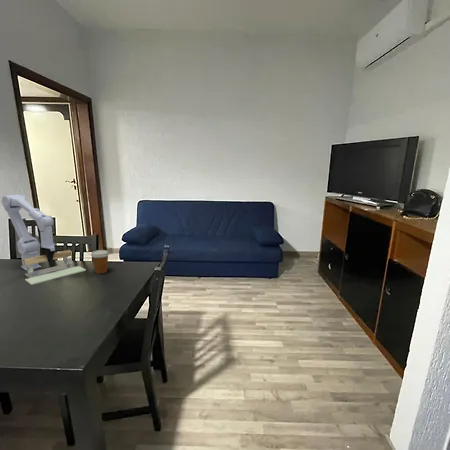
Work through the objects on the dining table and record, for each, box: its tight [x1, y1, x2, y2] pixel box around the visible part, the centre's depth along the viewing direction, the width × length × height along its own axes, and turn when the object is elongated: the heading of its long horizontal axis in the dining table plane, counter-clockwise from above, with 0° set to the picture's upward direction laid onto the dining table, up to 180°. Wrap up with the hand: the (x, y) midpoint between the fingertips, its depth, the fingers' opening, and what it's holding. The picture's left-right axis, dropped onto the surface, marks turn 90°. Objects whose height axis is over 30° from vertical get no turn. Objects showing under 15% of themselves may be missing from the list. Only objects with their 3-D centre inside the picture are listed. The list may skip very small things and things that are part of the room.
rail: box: [23, 249, 73, 266], centre depth 163 cm, size 3×24×3 cm, turn 141°
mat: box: [24, 265, 87, 286], centre depth 159 cm, size 9×28×1 cm, turn 141°
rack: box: [24, 257, 74, 278], centre depth 164 cm, size 7×23×6 cm, turn 141°
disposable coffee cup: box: [90, 249, 110, 275], centre depth 165 cm, size 10×10×12 cm
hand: (49, 260), depth 164 cm, fingers closed on rail, 3 cm apart
